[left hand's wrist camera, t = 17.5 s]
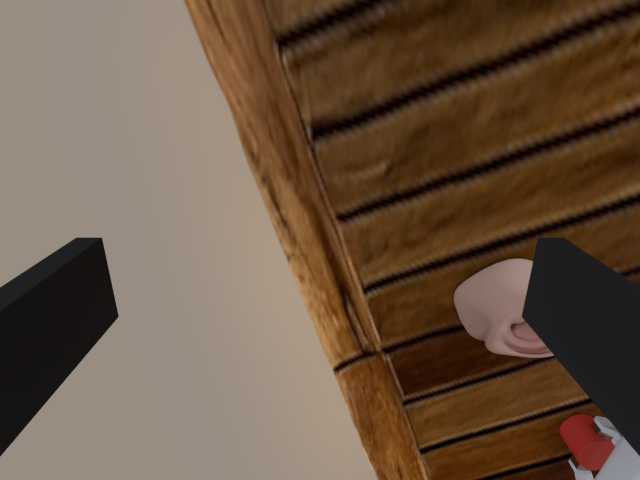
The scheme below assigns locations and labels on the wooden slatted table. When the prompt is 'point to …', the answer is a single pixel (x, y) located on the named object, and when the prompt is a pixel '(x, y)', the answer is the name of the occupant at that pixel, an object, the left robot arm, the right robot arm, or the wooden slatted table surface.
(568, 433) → the red cylinder
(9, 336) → the left robot arm
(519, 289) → the anatomical model
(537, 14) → the wooden slatted table surface
